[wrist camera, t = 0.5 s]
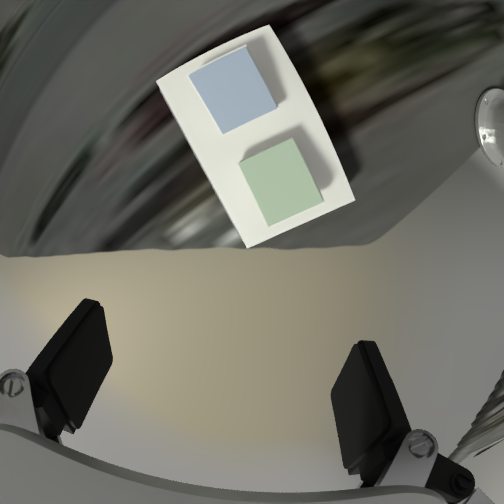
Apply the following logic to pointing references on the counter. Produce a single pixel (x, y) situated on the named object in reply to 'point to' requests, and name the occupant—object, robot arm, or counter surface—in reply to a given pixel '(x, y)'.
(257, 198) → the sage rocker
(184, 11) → the counter surface
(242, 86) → the slate rocker
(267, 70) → the switch box
